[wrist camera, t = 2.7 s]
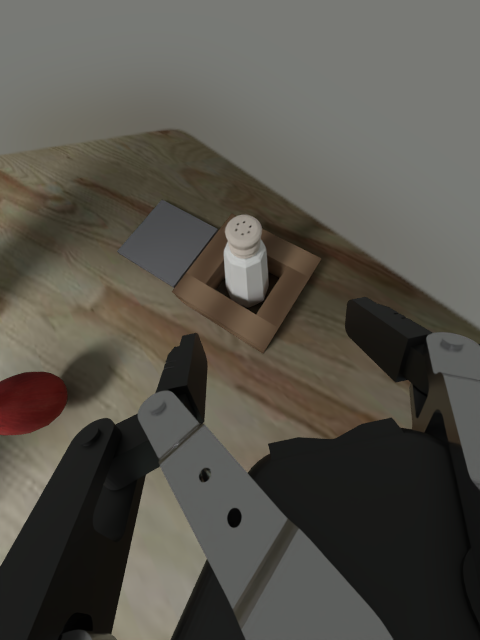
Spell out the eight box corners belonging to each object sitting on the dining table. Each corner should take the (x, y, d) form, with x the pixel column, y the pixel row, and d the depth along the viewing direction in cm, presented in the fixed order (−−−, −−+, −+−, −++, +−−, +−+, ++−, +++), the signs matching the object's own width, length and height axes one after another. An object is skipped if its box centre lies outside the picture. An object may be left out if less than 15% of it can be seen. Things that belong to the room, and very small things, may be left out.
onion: (33, 424, 23) (-78, 450, 15) (45, 372, 24) (-51, 372, 17) (81, 424, 23) (-7, 450, 15) (90, 371, 24) (14, 371, 16)
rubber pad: (119, 253, 28) (117, 251, 27) (163, 202, 30) (161, 199, 29) (175, 288, 26) (173, 286, 26) (218, 231, 28) (217, 228, 27)
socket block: (182, 302, 26) (171, 291, 22) (234, 232, 28) (231, 213, 24) (262, 353, 23) (264, 350, 20) (312, 273, 26) (321, 258, 22)
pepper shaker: (217, 290, 26) (192, 232, 15) (245, 261, 27) (240, 187, 16) (249, 316, 25) (246, 274, 14) (277, 286, 25) (295, 223, 15)
